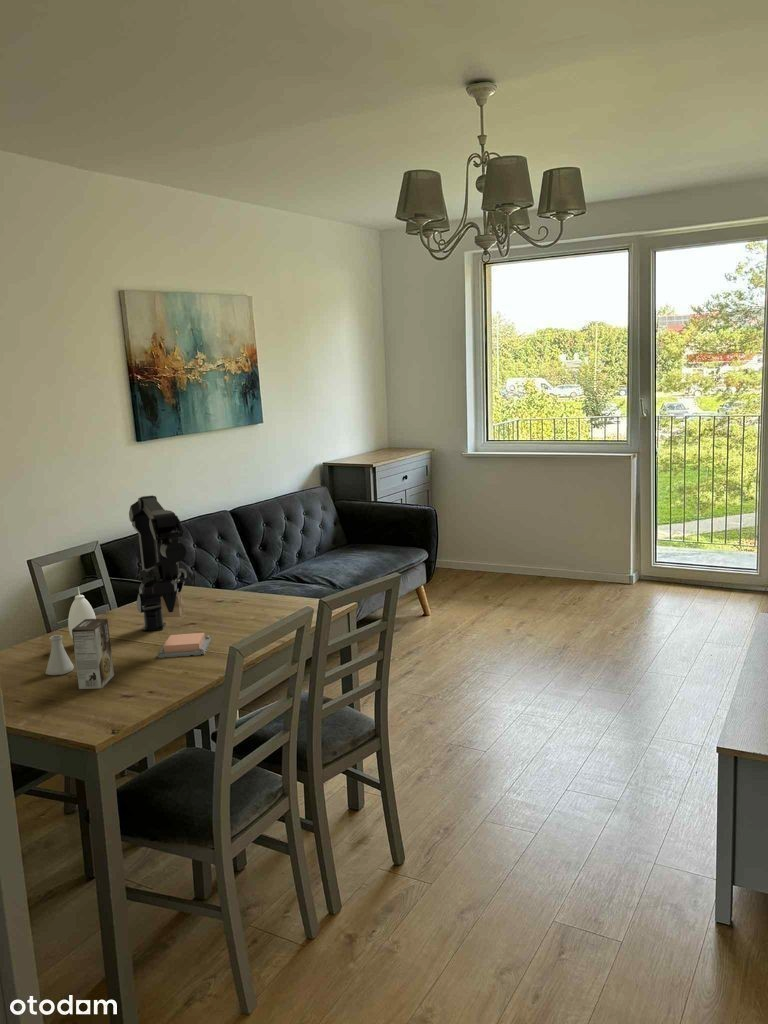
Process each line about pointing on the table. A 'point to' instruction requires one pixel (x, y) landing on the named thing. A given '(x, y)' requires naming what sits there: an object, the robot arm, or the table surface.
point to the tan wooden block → (177, 607)
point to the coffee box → (93, 653)
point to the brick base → (186, 653)
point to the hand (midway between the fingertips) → (172, 609)
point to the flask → (58, 658)
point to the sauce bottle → (79, 612)
